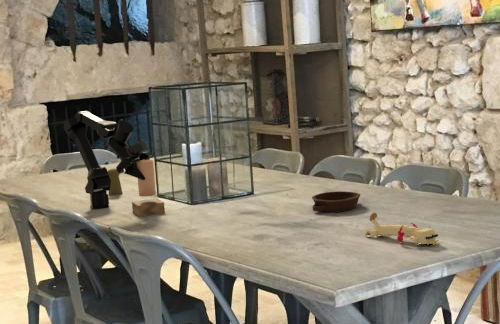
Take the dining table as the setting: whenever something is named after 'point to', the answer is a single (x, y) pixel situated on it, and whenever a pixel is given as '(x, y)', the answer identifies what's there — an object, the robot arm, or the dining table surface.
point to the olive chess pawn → (114, 183)
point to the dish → (335, 201)
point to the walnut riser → (148, 207)
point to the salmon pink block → (148, 184)
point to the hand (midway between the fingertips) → (149, 177)
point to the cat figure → (403, 232)
